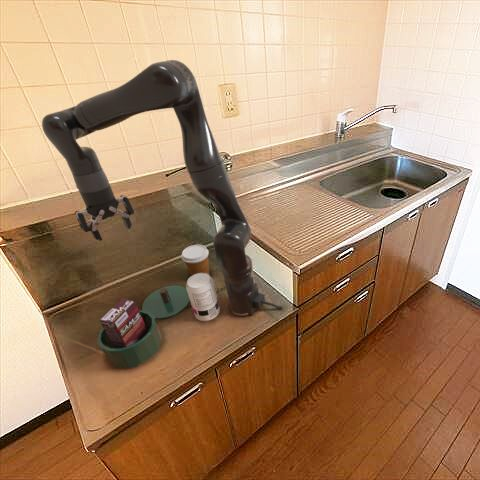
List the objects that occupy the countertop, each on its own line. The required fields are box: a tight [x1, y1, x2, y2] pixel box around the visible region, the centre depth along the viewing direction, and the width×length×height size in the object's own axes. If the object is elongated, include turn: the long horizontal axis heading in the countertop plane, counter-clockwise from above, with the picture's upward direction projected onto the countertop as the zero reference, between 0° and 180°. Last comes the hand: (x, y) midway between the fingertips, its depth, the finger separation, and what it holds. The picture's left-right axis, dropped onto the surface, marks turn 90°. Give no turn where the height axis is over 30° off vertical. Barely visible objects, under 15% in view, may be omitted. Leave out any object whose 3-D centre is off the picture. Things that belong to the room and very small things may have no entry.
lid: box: [141, 285, 191, 320], centre depth 109 cm, size 16×16×6 cm
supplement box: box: [99, 298, 149, 349], centre depth 91 cm, size 9×5×16 cm, turn 168°
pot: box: [97, 309, 163, 370], centre depth 94 cm, size 15×15×8 cm
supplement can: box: [185, 273, 221, 322], centre depth 103 cm, size 8×8×15 cm
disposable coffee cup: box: [181, 244, 210, 277], centre depth 119 cm, size 10×10×12 cm
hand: (114, 233), depth 98 cm, fingers open, 8 cm apart
